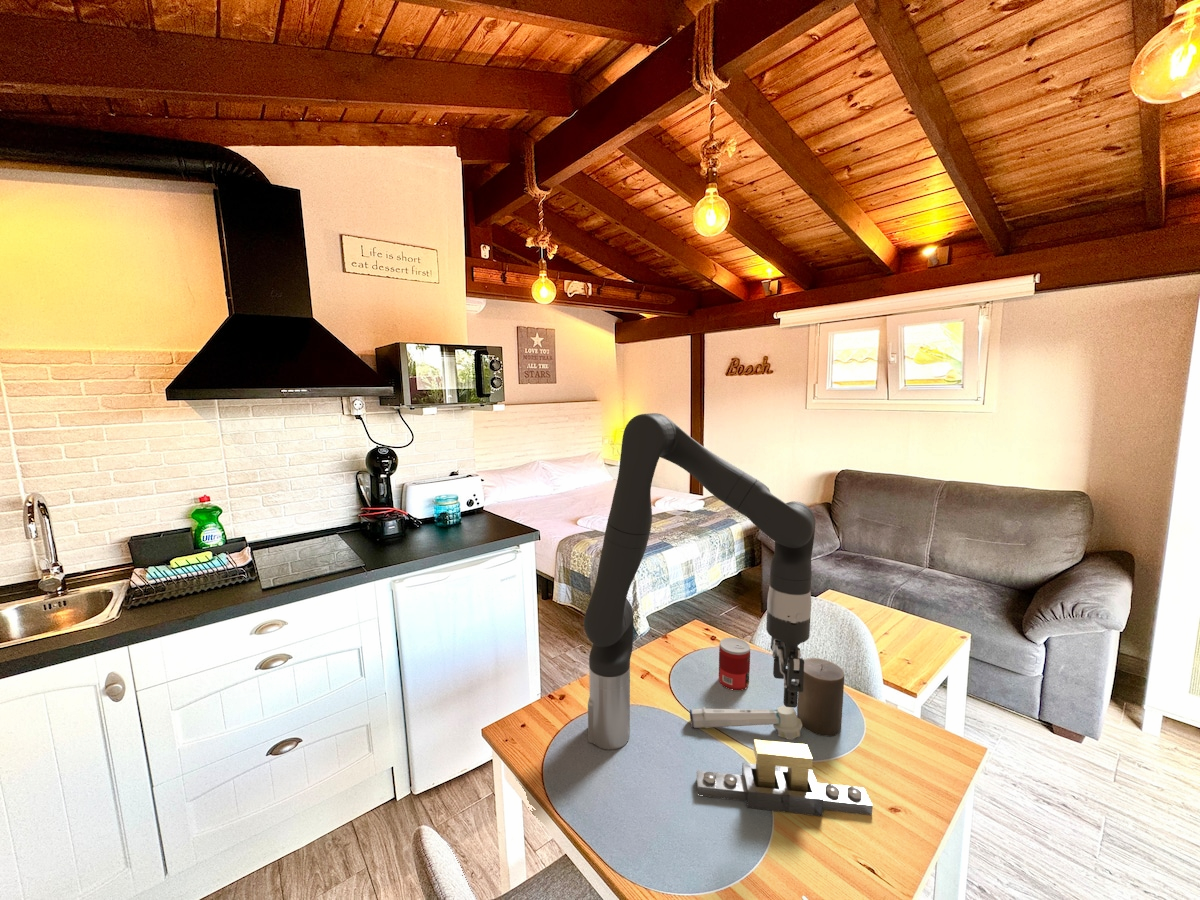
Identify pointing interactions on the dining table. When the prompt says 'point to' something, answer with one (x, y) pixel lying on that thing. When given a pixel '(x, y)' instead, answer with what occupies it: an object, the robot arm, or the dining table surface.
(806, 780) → the wooden u-shaped block
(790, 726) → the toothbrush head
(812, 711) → the pillar candle
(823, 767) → the dining table surface
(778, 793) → the chain ends
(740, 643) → the canned food
